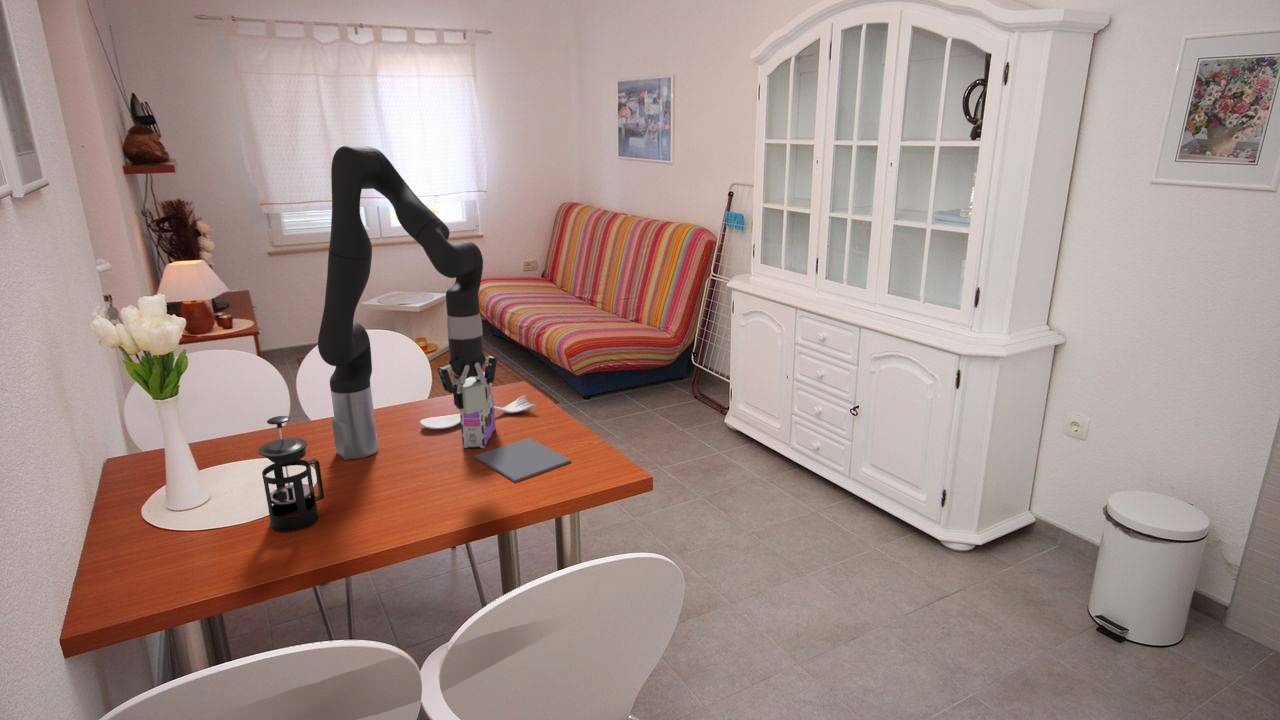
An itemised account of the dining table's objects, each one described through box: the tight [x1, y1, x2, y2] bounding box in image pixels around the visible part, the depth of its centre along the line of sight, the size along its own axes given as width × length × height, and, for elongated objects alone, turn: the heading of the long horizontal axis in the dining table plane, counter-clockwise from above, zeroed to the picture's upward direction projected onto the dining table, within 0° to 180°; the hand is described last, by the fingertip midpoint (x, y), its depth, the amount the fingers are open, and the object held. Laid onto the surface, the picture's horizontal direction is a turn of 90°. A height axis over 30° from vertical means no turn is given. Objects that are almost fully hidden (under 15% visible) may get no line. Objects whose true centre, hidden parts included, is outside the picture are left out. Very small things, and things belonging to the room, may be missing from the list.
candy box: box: [459, 371, 496, 449], centre depth 192 cm, size 14×6×16 cm, turn 179°
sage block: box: [455, 379, 487, 414], centre depth 168 cm, size 5×5×6 cm
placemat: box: [474, 437, 572, 483], centre depth 181 cm, size 16×18×1 cm
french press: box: [257, 415, 325, 533], centre depth 151 cm, size 12×9×23 cm
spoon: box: [419, 395, 538, 430], centre depth 206 cm, size 9×32×4 cm, turn 120°
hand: (471, 404), depth 169 cm, fingers closed on sage block, 5 cm apart
